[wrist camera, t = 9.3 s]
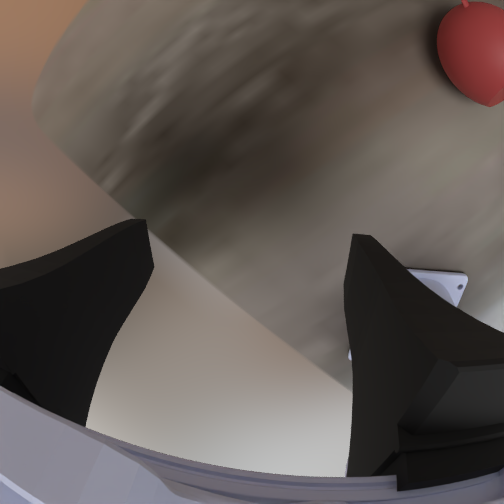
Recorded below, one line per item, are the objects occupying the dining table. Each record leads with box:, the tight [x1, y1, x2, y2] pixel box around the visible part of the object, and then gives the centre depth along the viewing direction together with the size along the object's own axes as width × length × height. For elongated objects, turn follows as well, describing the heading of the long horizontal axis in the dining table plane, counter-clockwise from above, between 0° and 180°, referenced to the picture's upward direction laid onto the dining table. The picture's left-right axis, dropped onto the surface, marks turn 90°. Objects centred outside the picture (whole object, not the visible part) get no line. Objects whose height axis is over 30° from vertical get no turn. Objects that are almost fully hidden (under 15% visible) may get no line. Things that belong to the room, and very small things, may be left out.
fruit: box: [437, 0, 504, 107], centre depth 10 cm, size 6×6×8 cm
